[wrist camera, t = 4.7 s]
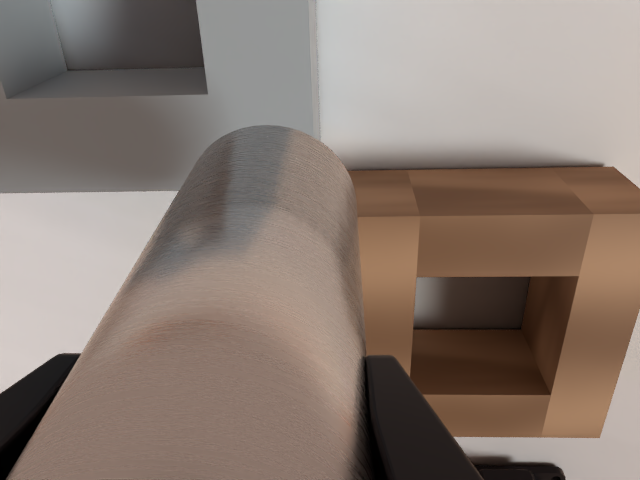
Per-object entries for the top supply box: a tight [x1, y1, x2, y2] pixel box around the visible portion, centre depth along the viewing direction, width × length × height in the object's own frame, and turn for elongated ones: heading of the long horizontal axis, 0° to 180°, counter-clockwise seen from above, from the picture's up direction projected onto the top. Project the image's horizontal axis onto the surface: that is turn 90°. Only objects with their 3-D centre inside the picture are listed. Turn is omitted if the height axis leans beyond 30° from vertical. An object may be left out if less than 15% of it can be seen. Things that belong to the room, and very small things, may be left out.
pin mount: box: [348, 167, 640, 438], centre depth 21 cm, size 10×10×4 cm
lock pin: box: [6, 125, 375, 480], centre depth 8 cm, size 5×5×11 cm
